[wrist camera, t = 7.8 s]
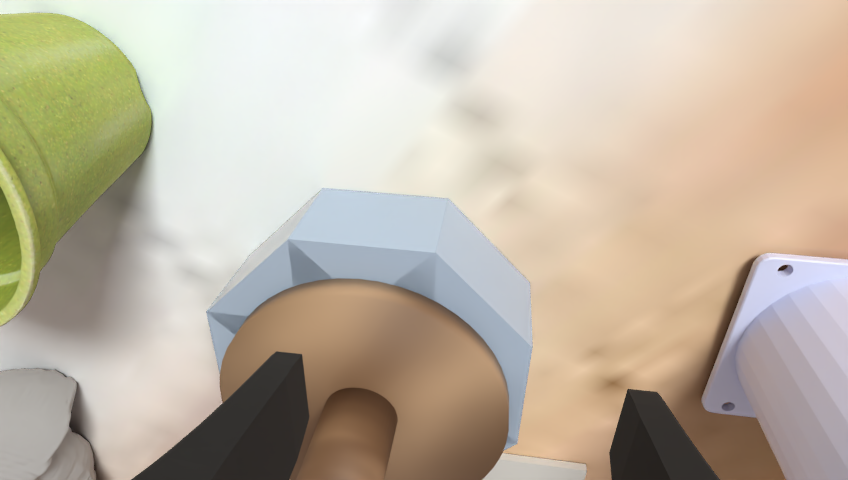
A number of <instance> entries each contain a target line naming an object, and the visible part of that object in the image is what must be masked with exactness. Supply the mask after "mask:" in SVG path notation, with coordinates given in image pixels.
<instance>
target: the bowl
mask: <svg viewBox="0 0 848 480" xmlns="http://www.w3.org/2000/svg"><path fill="white" fill-rule="evenodd" d="M336 278H345V279H364V280H371V281H379V282H383V283H387V284H391V285H395V286H399V287H402V288H405V289H408V290H411V291H413V292H416V293H419V294H421V295H423V296H425V297H427V298H429V299H431V300H433V301H436V302H438V303H439V304H441V305H442V306H444V307H446V308H447V309H449V310H450V311H452V312H454V313H455V314H456V315H458V316H459V317H460V318H461V319H463V320H464V321H465V322H466V323H468V324H469V325H470V326H471V327H472V328H473V329H474V330H475V331H476V332H477V333H478V334H479V335H480V336H481V337H482V338H483V339H484V341H485V342H486V343H487V345H488V346H489V347H490V349H491V350H492V351H493V353H494V354H495V356H496V358H497V360H498V362H499V364H500V365H501V367H502V370H503V373H504V376H505V379H506V382H507V387H508V393H509V432H508V437H507V441H506V445H505V448H504V450H506V449H508V448H510V447H512V446H514V445H516V444H517V441H518V435H519V428H520V422H521V416H522V409H523V403H524V397H525V390H526V384H527V378H528V372H529V365H530V359H531V353H532V348H533V346H532V321H531V296H530V282H529V281H528V280H527V279H526V278H525V277H524V276H523V275H522V274H521V273H520V272H519V271H518V270H517V269H516V268H515V267H514V266H513V265H512V264H511V263H510V262H509V261H508V260H507V259H506V258H505V257H504V256H503V255H502V254H501V253H500V252H499V250H498V249H497V248H496V247H495V246H494V245H493V244H492V243H491V242H490V241H489V240H488V239H487V238H486V237H485V236H484V235H483V234H482V233H481V232H480V231H479V230H478V229H477V228H476V227H475V226H474V225H473V224H472V223H471V222H470V221H469V220H468V218H467V217H466V216H465V215H464V214H463V213H462V212H461V211H460V210H459V209H458V208H457V207H456V206H455V205H454V204H453V203H452V202H451V201H450V200H449V199H446V198H434V197H422V196H409V195H397V194H385V193H373V192H361V191H349V190H337V189H324V188H322V190H321V191H319V192H318V193H317V194H316V195H315V196H314V197H313V198H312V199H311V200H310V201H309V202H307V203H306V204H305V205H304V206H303V207H302V208H301V209H300V210H299V211H298V212H297V213H295V214H294V215H293V216H292V217H291V218H290V219H289V220H288V221H287V222H286V223H285V224H283V225H282V226H281V227H280V228H279V229H278V230H277V231H276V232H275V233H274V234H273V235H271V236H270V237H269V238H268V239H267V240H266V241H265V242H264V243H263V244H262V245H261V246H259V247H258V248H257V249H256V250H255V251H254V252H253V253H252V254H251V255H249V257H248V258H247V259H246V261H245V262H244V263H243V264H242V266H241V267H240V268H239V270H238V271H237V272H236V274H235V275H234V276H233V277H232V279H231V280H230V281H229V283H228V284H227V285H226V287H225V288H224V289H223V290H222V292H221V293H220V294H219V296H218V297H217V298H216V300H215V301H214V302H213V304H212V305H211V306H210V307H209V309H208V310H207V311H206V313H207V317H208V322H209V326H210V331H211V336H212V340H213V345H214V349H215V354H216V359H217V363H218V368H219V372H220V370H221V365H222V360H223V357H224V355H225V352H226V350H227V347H228V346H229V344H230V343H231V341H232V340H233V338H234V337H235V335H236V333H237V332H238V330H239V329H240V327H241V326H242V324H243V323H244V321H245V320H246V318H247V317H248V316H249V315H250V314H251V313H252V312H253V311H254V310H255V309H256V308H257V307H258V306H259V305H260V304H262V303H263V302H264V301H266V300H267V299H268V298H270V297H272V296H274V295H276V294H277V293H279V292H281V291H283V290H285V289H288V288H291V287H294V286H296V285H299V284H303V283H308V282H312V281H317V280H326V279H336Z"/></svg>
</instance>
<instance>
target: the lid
mask: <svg viewBox="0 0 848 480" xmlns="http://www.w3.org/2000/svg"><path fill="white" fill-rule="evenodd" d="M276 351H278V352H287V353H296V354H302V357H303V366H304V375H305V383H306V392H307V400H308V409H309V421H308V424H307V428H306V432H305V435H304V439H303V442H302V446H301V449H300V452H299V456H298V459H297V462H296V464H295V467H294V469H293V471H292V474H291V476H290V479H289V480H482V479H483V478H484V477H485V476H486V475H487V474H488V473H489V472H490V471H491V470H492V469H493V468H494V466H495V465H496V463H497V462H498V460H499V459H500V457H501V455H502V453H503V450H504V448H505V445H506V441H507V437H508V432H509V393H508V387H507V382H506V379H505V376H504V373H503V370H502V367H501V365H500V364H499V362H498V360H497V358H496V356H495V354H494V353H493V351H492V350H491V349H490V347H489V346H488V345H487V343H486V342H485V341H484V339H483V338H482V337H481V336H480V335H479V334H478V333H477V332H476V331H475V330H474V329H473V328H472V327H471V326H470V325H469V324H468V323H466V322H465V321H464V320H463V319H461V318H460V317H459V316H458V315H456V314H455V313H454V312H452V311H450V310H449V309H447V308H446V307H444V306H442V305H441V304H439V303H438V302H436V301H433V300H431V299H429V298H427V297H425V296H423V295H421V294H419V293H416V292H413V291H411V290H408V289H405V288H402V287H399V286H395V285H391V284H387V283H383V282H379V281H371V280H364V279H345V278H336V279H326V280H317V281H312V282H308V283H303V284H299V285H296V286H294V287H291V288H288V289H285V290H283V291H281V292H279V293H277V294H276V295H274V296H272V297H270V298H268V299H267V300H266V301H264V302H263V303H262V304H260V305H259V306H258V307H257V308H256V309H255V310H254V311H253V312H252V313H251V314H250V315H249V316H248V317H247V318H246V320H245V321H244V323H243V324H242V326H241V327H240V329H239V330H238V332H237V333H236V335H235V337H234V338H233V340H232V341H231V343H230V344H229V346H228V347H227V350H226V352H225V355H224V357H223V360H222V365H221V370H220V391H221V396H222V401H223V402H225V401H226V400H227V399H228V398H229V397H230V396H231V395H232V394H233V393H234V392H235V391H236V390H237V389H238V388H239V387H240V386H241V385H242V384H243V383H244V382H245V381H246V380H247V379H248V378H249V377H250V376H251V375H252V374H253V373H254V372H255V371H256V370H257V369H258V368H259V367H260V366H261V365H262V364H263V363H264V362H265V361H266V360H267V359H268V358H269V357H270V356H271V355H272V354H274V353H275V352H276Z"/></svg>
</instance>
